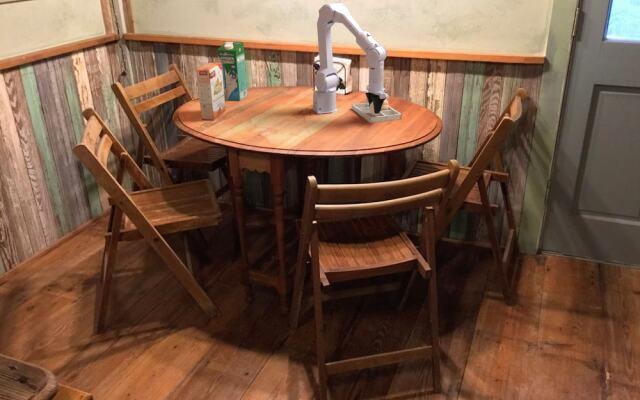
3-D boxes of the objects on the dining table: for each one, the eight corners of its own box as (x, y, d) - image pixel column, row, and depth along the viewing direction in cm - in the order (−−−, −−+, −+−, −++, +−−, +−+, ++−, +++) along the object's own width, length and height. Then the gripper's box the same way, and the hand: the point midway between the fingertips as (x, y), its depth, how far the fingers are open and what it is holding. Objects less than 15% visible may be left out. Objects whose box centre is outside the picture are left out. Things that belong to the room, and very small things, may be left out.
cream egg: (372, 117, 218) (372, 103, 216) (368, 114, 222) (368, 100, 219) (381, 116, 219) (381, 102, 217) (377, 113, 223) (377, 99, 220)
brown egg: (380, 114, 226) (381, 100, 224) (376, 112, 230) (377, 98, 227) (389, 113, 227) (390, 99, 225) (385, 111, 231) (386, 97, 228)
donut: (392, 92, 240) (381, 91, 232) (393, 100, 240) (382, 99, 232) (372, 97, 246) (361, 96, 238) (373, 104, 246) (362, 104, 238)
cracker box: (214, 120, 225) (209, 69, 215) (201, 119, 226) (195, 69, 217) (226, 110, 237) (222, 62, 228) (213, 110, 238) (208, 61, 229)
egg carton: (369, 123, 217) (370, 117, 216) (351, 110, 235) (351, 104, 234) (401, 120, 221) (401, 114, 220) (381, 106, 238) (381, 101, 237)
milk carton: (221, 99, 253) (216, 44, 242) (230, 94, 260) (225, 41, 249) (239, 101, 250) (235, 45, 239) (247, 95, 258) (243, 41, 247)
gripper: (393, 81, 209) (391, 115, 215) (378, 73, 221) (377, 105, 227) (376, 83, 207) (375, 117, 213) (361, 74, 219) (361, 107, 225)
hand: (375, 111), depth 220 cm, fingers closed on cream egg, 4 cm apart
